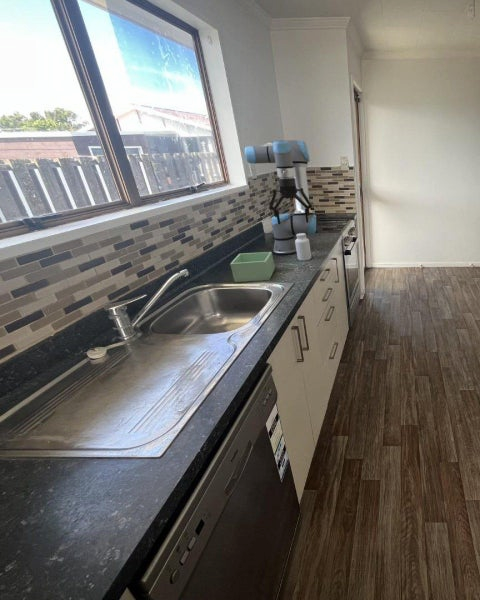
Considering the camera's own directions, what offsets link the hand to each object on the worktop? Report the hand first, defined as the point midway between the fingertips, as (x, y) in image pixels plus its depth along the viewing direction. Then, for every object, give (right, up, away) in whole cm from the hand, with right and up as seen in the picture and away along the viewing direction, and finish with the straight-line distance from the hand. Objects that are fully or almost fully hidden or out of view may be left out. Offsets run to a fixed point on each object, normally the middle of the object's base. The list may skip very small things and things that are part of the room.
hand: (293, 223), depth 163 cm
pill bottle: (-4, -14, +33) cm, 36 cm away
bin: (-23, -25, +9) cm, 35 cm away
